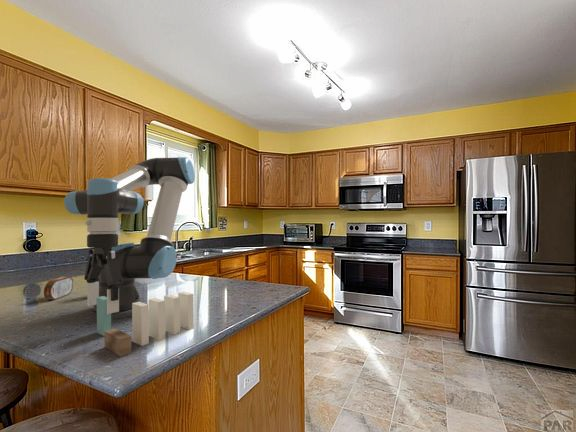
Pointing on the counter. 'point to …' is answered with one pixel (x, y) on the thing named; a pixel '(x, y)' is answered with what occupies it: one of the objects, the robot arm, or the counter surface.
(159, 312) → the ivory domino
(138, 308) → the ivory domino
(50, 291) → the tin
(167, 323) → the ivory domino
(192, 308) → the ivory domino
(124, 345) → the walnut block
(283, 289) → the counter surface
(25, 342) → the counter surface
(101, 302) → the teal domino
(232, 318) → the counter surface
